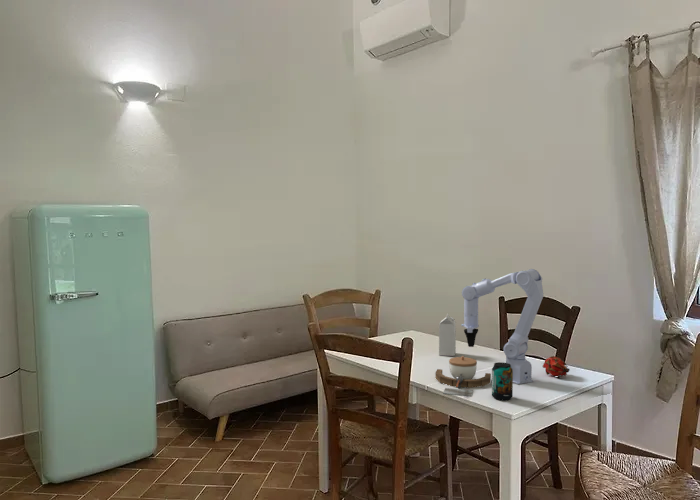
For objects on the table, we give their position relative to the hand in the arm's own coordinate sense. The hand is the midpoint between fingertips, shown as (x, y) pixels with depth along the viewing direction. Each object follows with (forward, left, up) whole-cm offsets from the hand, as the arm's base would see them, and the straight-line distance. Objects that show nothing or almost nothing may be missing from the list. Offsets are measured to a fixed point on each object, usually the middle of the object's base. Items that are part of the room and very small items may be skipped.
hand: (471, 346), depth 218 cm
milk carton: (+27, -8, -11) cm, 30 cm away
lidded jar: (-8, +11, -11) cm, 17 cm away
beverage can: (-32, +13, -11) cm, 36 cm away
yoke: (-14, +17, -10) cm, 24 cm away
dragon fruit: (-22, -25, -11) cm, 35 cm away
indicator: (-17, +20, -8) cm, 27 cm away
